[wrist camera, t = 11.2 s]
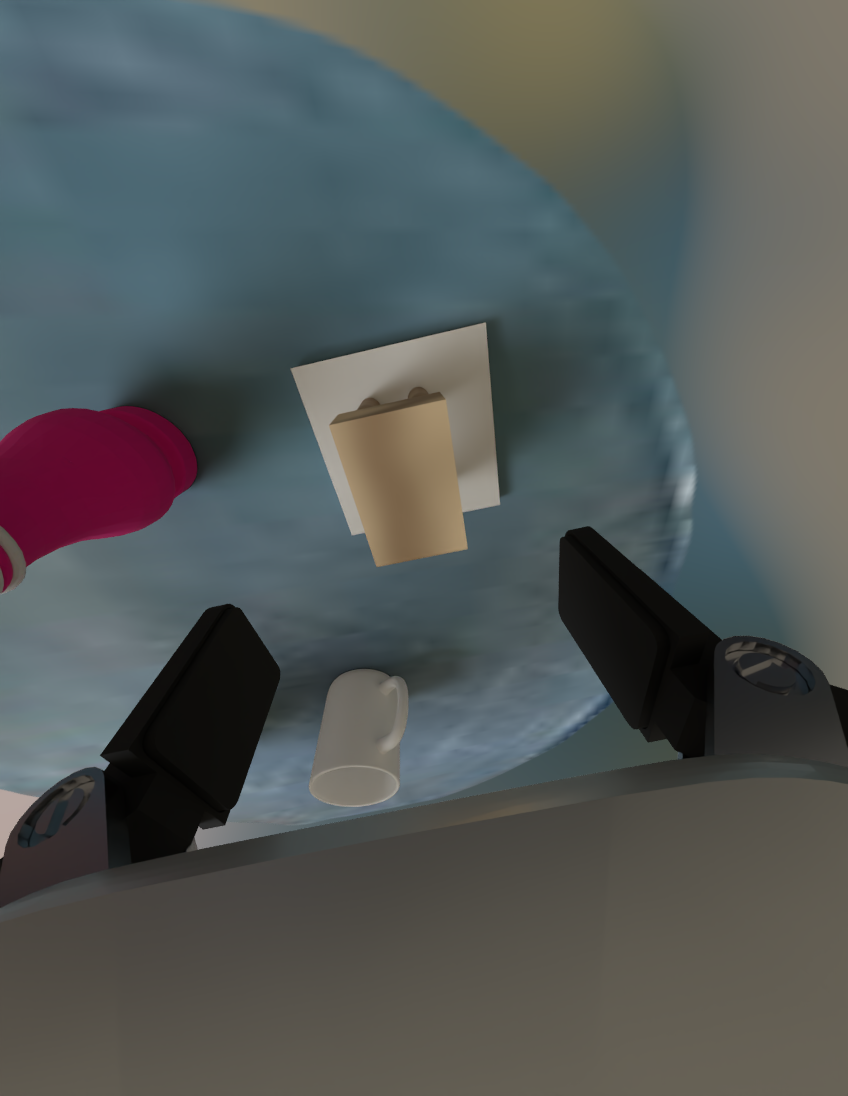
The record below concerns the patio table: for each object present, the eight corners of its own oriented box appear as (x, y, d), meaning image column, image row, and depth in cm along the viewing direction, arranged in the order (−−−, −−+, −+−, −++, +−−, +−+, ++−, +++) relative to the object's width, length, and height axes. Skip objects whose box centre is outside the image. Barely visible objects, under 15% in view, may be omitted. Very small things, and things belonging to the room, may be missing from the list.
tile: (496, 498, 27) (500, 504, 26) (353, 528, 27) (352, 535, 26) (481, 323, 20) (485, 322, 19) (295, 367, 21) (290, 368, 20)
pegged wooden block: (429, 379, 21) (445, 399, 13) (447, 488, 25) (467, 548, 17) (352, 397, 21) (328, 425, 14) (383, 502, 25) (376, 567, 18)
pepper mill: (189, 401, 21) (-583, 618, 5) (217, 502, 25) (-149, 824, 8) (68, 393, 21) (-1360, 612, 4) (115, 498, 25) (-505, 839, 8)
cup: (315, 695, 39) (291, 795, 30) (374, 637, 34) (366, 736, 26) (373, 717, 42) (366, 813, 33) (433, 667, 37) (444, 763, 29)
